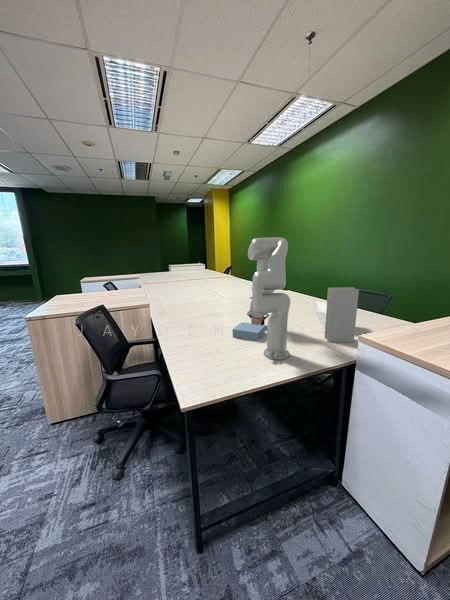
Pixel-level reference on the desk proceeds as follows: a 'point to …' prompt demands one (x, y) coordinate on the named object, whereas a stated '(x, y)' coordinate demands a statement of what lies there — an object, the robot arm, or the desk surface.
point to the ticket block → (249, 331)
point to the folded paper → (321, 311)
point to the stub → (256, 320)
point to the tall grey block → (341, 314)
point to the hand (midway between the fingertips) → (257, 324)
